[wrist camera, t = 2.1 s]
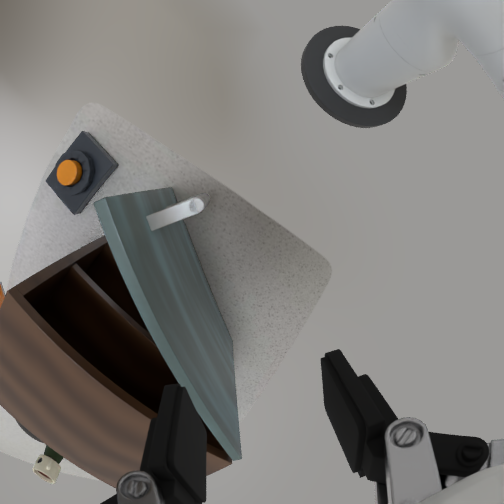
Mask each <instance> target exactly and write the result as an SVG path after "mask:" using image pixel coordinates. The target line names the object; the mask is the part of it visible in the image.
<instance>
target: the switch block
mask: <svg viewBox="0 0 504 504" xmlns="http://www.w3.org/2000/svg"><path fill="white" fill-rule="evenodd" d="M65 160H75V161H77V162H79V163H80V165H81V167H82V175H81V178H80V180H79V181H78V182H77V183H76V184H74V185H62V184H61V183H60V182H59V181H58V179H57V169H58V167H59V165H60V164H61V163H62V162H63V161H65ZM117 166H118V164H117V163H116V162H115V161H114V159H113V158H112V157H111V156H110V155H109V154H108V153H107V152H106V151H105V150H104V149H103V148H102V147H101V146H100V145H99V143H98V142H97V141H96V140H95V139H94V138H93V137H92V136H91V135H90V134H89V133H88V132H85V131H82V132H81V133H80V134H79V136H78V137H77V138H76V139H75V141H74V142H73V143H72V145H71V146H70V147H69V149H68V150H67V151H66V152H65V153H64V154H63V155H62V156H61V157H60V159H59V160H58V161H57V163H56V166H55V168H54V169H53V171H52V172H51V174H50V175H49V177H48V178H47V180H46V182H47V183H48V185H49V186H50V187H51V188H52V190H53V191H54V192H55V193H56V194H57V196H58V197H59V198H60V199H61V200H62V202H63V203H64V204H65V205H66V206H67V207H68V209H69V210H70V211H71V212H72V213H73V214H74V215H75V214H79V213H81V211H82V210H83V209H84V207H85V206H86V205H87V203H88V202H89V201H90V199H91V198H92V197H93V195H94V194H95V193H96V192H97V190H98V189H99V188H100V187H101V185H102V184H103V183H104V182H105V180H106V179H107V178H108V177H109V176H110V174H111V173H112V172H113V171H114V170H115V169H116V167H117Z"/></svg>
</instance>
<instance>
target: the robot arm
mask: <svg viewBox="0 0 504 504" xmlns="http://www.w3.org/2000/svg"><path fill="white" fill-rule="evenodd" d="M459 41H460V42H461V43H462V44H463V45H464V46H465V47H466V49H467V50H468V51H469V52H470V53H471V54H472V55H473V56H474V58H475V59H476V60H477V61H478V63H479V64H480V66H481V67H482V68H483V70H484V71H485V73H486V74H487V75H488V77H489V78H490V80H491V81H492V83H493V84H494V86H495V87H496V89H497V90H498V92H499V93H500V95H501V96H502V98H503V99H504V0H392V1H391V2H389V3H388V4H387V5H386V6H385V7H384V8H383V9H382V10H381V11H380V12H379V13H378V14H377V15H375V17H373V18H372V19H371V20H370V21H369V22H368V23H367V24H366V25H365V26H364V27H363V28H362V29H360V30H359V31H358V32H357V33H356V34H355V35H354V36H353V37H352V38H342V39H339V40H337V41H335V42H333V43H332V44H331V45H330V46H329V47H328V48H327V50H326V52H325V54H324V57H323V69H324V74H325V76H326V79H327V81H328V83H329V84H330V86H331V87H332V89H333V90H334V91H335V92H336V93H337V94H338V95H339V96H340V97H341V98H342V99H344V100H345V101H347V102H348V103H350V104H353V105H355V106H358V107H361V108H376V107H379V106H382V105H384V104H386V103H387V102H388V101H389V100H390V99H391V97H392V96H393V94H394V91H395V88H397V87H400V86H402V85H404V84H407V83H409V82H411V81H413V80H416V79H418V78H420V77H423V76H425V75H428V74H430V73H433V72H435V71H438V70H440V69H442V68H444V67H446V66H448V65H449V64H450V63H451V62H452V60H453V59H454V57H455V55H456V53H457V49H458V44H459ZM329 57H330V58H329ZM338 88H339V89H338ZM370 103H371V104H370ZM321 369H322V380H323V394H324V406H325V409H326V412H327V415H328V417H329V419H330V422H331V424H332V426H333V429H334V431H335V433H336V435H337V438H338V440H339V442H340V445H341V447H342V449H343V451H344V454H345V456H346V458H347V461H348V463H349V466H350V468H351V470H352V472H353V473H355V472H358V474H359V476H360V478H361V477H363V476H366V477H367V479H368V480H370V481H374V485H375V504H504V439H501V440H492V441H491V443H486V442H485V441H484V440H482V439H481V438H477V437H470V436H458V435H449V434H440V433H433V432H428V429H427V427H426V425H425V424H424V423H423V422H422V421H420V420H418V419H416V418H410V417H407V418H401V419H398V418H397V417H396V415H395V414H394V412H393V411H392V409H391V408H390V406H389V405H388V403H387V402H386V401H385V399H384V398H383V396H382V395H381V393H380V392H379V390H378V389H377V387H376V386H375V385H374V383H373V382H372V380H371V379H370V378H369V376H368V375H366V374H365V375H362V376H359V377H358V376H357V375H356V373H355V372H354V370H353V369H352V368H351V366H350V365H349V363H348V361H347V360H346V358H345V357H344V355H343V354H342V352H341V351H340V350H339V349H338V350H334V351H331V352H328V353H325V357H324V358H321ZM206 456H207V433H206V429H205V427H204V425H203V423H202V421H201V419H200V417H199V415H198V413H197V411H196V409H195V406H194V404H193V402H192V400H191V398H190V396H189V394H188V391H187V389H186V387H181V385H180V384H171V385H165V386H164V389H163V394H162V398H161V402H160V407H159V411H158V415H157V418H152V419H151V422H150V426H149V430H148V434H147V439H146V443H145V447H144V452H143V456H142V461H141V466H140V471H139V470H136V471H130V472H127V473H126V474H124V475H123V476H122V477H121V478H120V479H119V480H118V482H117V486H116V491H117V494H116V495H114V496H112V497H111V498H109V499H107V500H106V501H104V502H102V503H101V504H202V502H205V501H206Z"/></svg>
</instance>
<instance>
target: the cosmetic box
mask: <svg viewBox="0 0 504 504" xmlns="http://www.w3.org/2000/svg"><path fill="white" fill-rule="evenodd" d="M4 298H5V293H4V289H3V287H2V283H1V282H0V308H1V305H2V303H3V300H4Z"/></svg>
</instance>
